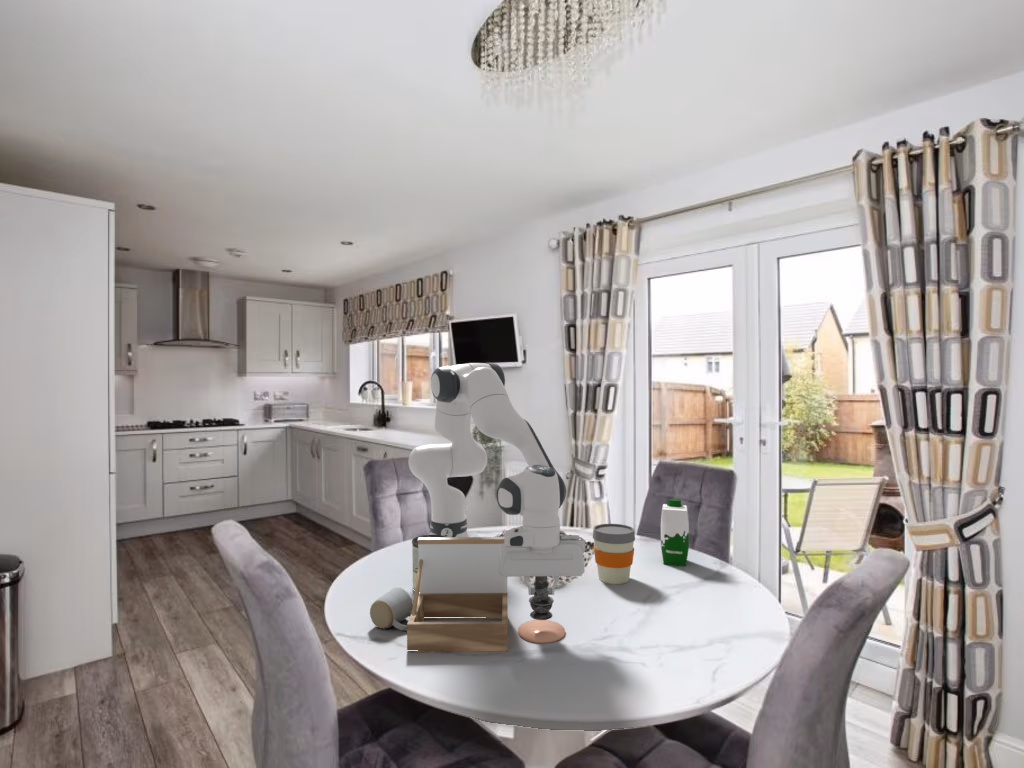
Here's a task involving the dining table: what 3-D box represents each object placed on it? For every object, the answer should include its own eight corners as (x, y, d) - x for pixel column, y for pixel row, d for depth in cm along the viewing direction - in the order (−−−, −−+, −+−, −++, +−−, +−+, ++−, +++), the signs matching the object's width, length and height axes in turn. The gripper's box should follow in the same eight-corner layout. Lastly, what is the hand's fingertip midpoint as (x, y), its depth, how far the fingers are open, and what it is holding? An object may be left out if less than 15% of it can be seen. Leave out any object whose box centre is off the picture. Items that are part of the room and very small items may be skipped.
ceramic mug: (367, 627, 132) (367, 595, 132) (388, 614, 139) (389, 584, 139) (403, 637, 127) (403, 604, 127) (423, 623, 135) (423, 592, 135)
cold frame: (419, 616, 138) (419, 592, 138) (507, 616, 138) (507, 592, 138) (407, 651, 120) (407, 624, 120) (507, 651, 120) (507, 623, 120)
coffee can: (417, 581, 163) (417, 533, 163) (451, 582, 162) (451, 534, 162) (407, 594, 152) (407, 544, 152) (443, 596, 151) (443, 545, 151)
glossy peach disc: (517, 622, 135) (517, 619, 135) (562, 621, 135) (562, 619, 135) (518, 643, 124) (518, 640, 124) (567, 643, 124) (567, 640, 124)
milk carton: (688, 558, 183) (688, 498, 183) (689, 567, 174) (689, 504, 174) (661, 556, 186) (661, 497, 185) (660, 565, 177) (660, 503, 177)
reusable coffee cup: (639, 586, 158) (639, 534, 158) (595, 586, 158) (595, 534, 158) (630, 571, 171) (630, 523, 171) (590, 571, 171) (590, 523, 171)
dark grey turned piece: (538, 607, 133) (538, 558, 133) (558, 614, 130) (558, 563, 130) (523, 615, 129) (523, 564, 129) (543, 623, 125) (543, 570, 125)
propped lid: (420, 594, 138) (420, 534, 138) (507, 593, 139) (507, 534, 139) (410, 617, 125) (410, 551, 124) (507, 617, 125) (507, 551, 125)
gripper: (583, 531, 133) (583, 588, 133) (498, 531, 132) (498, 589, 132) (587, 538, 126) (587, 598, 126) (498, 539, 126) (498, 599, 126)
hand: (541, 594), depth 129 cm, fingers closed on dark grey turned piece, 3 cm apart
